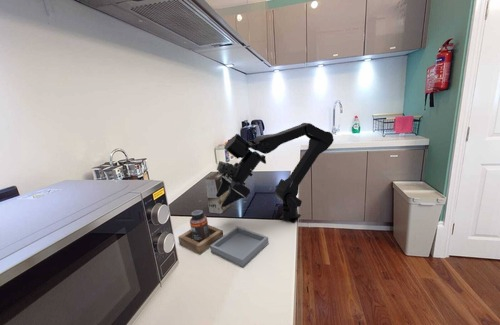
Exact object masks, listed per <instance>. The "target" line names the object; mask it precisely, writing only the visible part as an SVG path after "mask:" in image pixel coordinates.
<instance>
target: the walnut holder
mask: <svg viewBox="0 0 500 325" xmlns="http://www.w3.org/2000/svg"><path fill="white" fill-rule="evenodd" d="M208 228H209V234H210V236H209V237H207V238H206V239H204V240H203V241H201V242H200V243H199V242H197V241H195V240H193V237H192V231H191V229H189V230H187V231H185V232H184V233H181V235H179V236H178V241H179V242H178V243H179V245H180V246H182V247H184V248H186V249H187V250H191V251H192V252H194V253H196V254H198V255H202V254H203V253H205V252H206V251H207V250H209V249H210V245H212V244H213V243H214V242H216V241H217V240H219V239H220V238H221V237H223V236H224V231H223V229H220V228H218V227H215V226H212V225H209V224H208Z"/></svg>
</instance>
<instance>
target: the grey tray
mask: <svg viewBox="0 0 500 325" xmlns="http://www.w3.org/2000/svg"><path fill="white" fill-rule="evenodd" d="M268 245H269V236H266V235H264V234H260V233H258V232H256V231H252V230H249V229H246V228H243V227H241V226H236V227H234V228H232V230H230V231H229V232H227V233H225V235H224V234H223V237H221V238H220V239H219V240H217V241H216V242H214V243H213V244H212V245H210V248H209V249H210V253H212V254H213V255H216V256H218V257H220V258H221V259H225V260H226V261H229V262H231V263H232V264H235V265H237V266H239V267H241V268H245V267H246V266H247V265H248V264H249V263H250V262H251V261H252V260H253V259H254V258H255V257H256V256H257V255H259V253H260V252H262V251H263V249H264V248H265V247H266V246H268Z"/></svg>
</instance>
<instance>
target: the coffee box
mask: <svg viewBox="0 0 500 325" xmlns="http://www.w3.org/2000/svg"><path fill="white" fill-rule="evenodd" d="M220 175H221V174H220V172H215V173H213V174H211V175H209V176H208V177H206V178H205V180H204V181H205V186H206V187H205V188H206V195H207V196H206V197H207V203H208V204H207V205H208V210H209V211H208V212H209V213H211V214H223V213H224V212H225V211H226V210H227V209H228V208H229V207H230V206H231V204H229V205H227V206H225V207H223V206H222V203H223V201H224V199H225V198H226V196H227V194H228V193H229V190H228V191H226V192H225V193H224V194H223V195H221V196H220V197H217V196H216V194H217V192H218V189H219V187H220V184H221V177H220ZM221 176H222V175H221Z"/></svg>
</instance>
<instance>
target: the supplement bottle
mask: <svg viewBox="0 0 500 325" xmlns="http://www.w3.org/2000/svg"><path fill="white" fill-rule="evenodd" d="M189 219H190V220H189V224H190V230H191V231H192V237H193V239H192V240H195V241H197V242H199V243H200V242H201V241H203V240H204V239H206V238H207V237H209V236H210V234H209V228H208V225H209V223H208V217H207V216H206V215H205V214H204V211H203V210H202V209H196V210H192V212H191V218H189Z"/></svg>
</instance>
